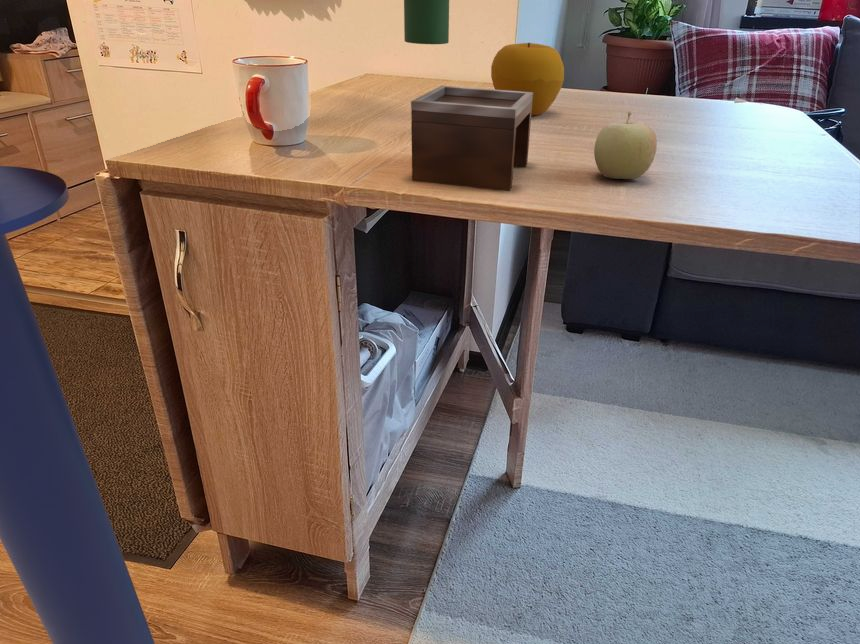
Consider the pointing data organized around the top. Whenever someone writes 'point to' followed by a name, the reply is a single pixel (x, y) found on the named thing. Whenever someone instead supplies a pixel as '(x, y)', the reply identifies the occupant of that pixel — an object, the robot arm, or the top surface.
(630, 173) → the fruit
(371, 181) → the top surface
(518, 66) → the apple
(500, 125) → the brown wooden box
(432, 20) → the bottle
